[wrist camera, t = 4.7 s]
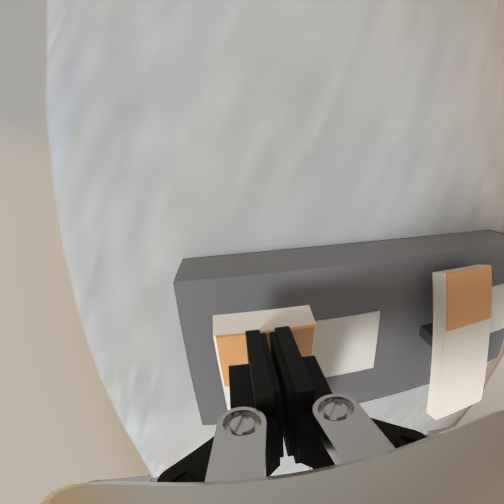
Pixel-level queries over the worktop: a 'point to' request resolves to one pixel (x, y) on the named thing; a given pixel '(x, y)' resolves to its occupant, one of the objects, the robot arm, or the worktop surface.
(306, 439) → the robot arm
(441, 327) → the rocker
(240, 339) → the rocker
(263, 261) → the switch panel
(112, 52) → the worktop surface
